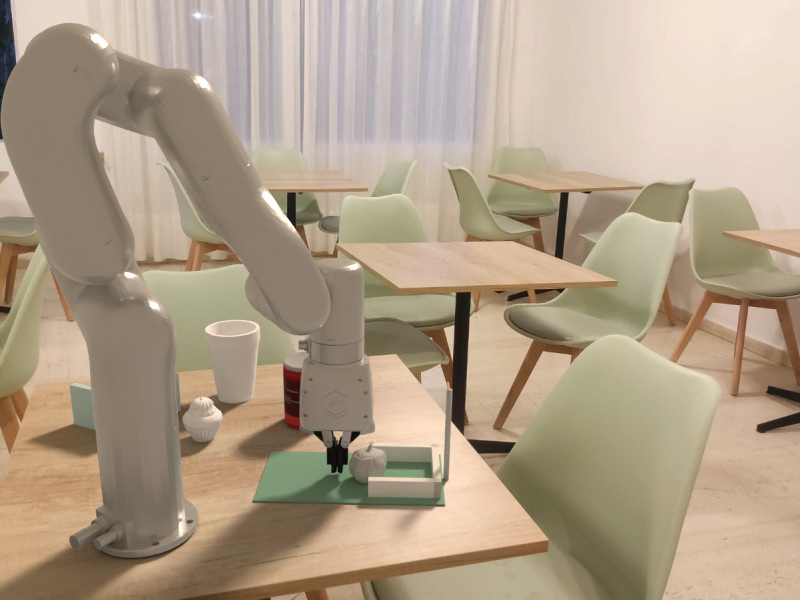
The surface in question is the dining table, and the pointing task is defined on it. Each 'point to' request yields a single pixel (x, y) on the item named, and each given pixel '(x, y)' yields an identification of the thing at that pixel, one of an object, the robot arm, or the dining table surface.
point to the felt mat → (331, 481)
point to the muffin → (202, 419)
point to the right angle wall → (84, 403)
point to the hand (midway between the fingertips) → (337, 468)
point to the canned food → (292, 387)
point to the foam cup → (233, 358)
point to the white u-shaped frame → (414, 454)
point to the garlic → (367, 463)
